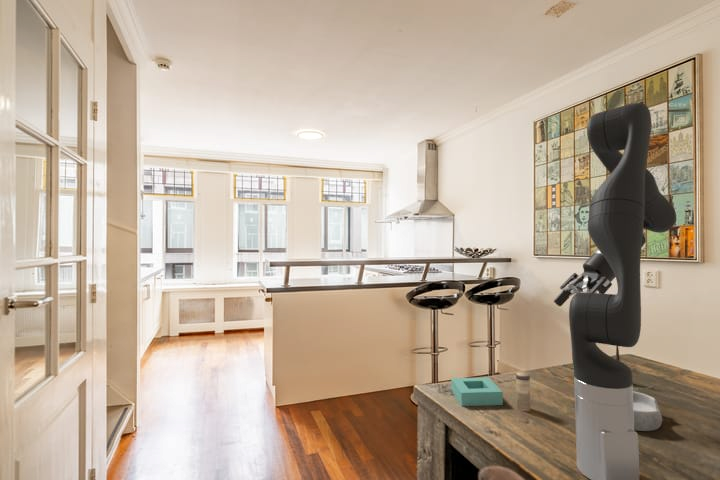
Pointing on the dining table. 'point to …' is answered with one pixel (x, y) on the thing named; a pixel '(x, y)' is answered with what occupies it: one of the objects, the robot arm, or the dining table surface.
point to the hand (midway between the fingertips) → (565, 306)
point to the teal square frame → (476, 391)
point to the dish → (646, 412)
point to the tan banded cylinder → (523, 391)
